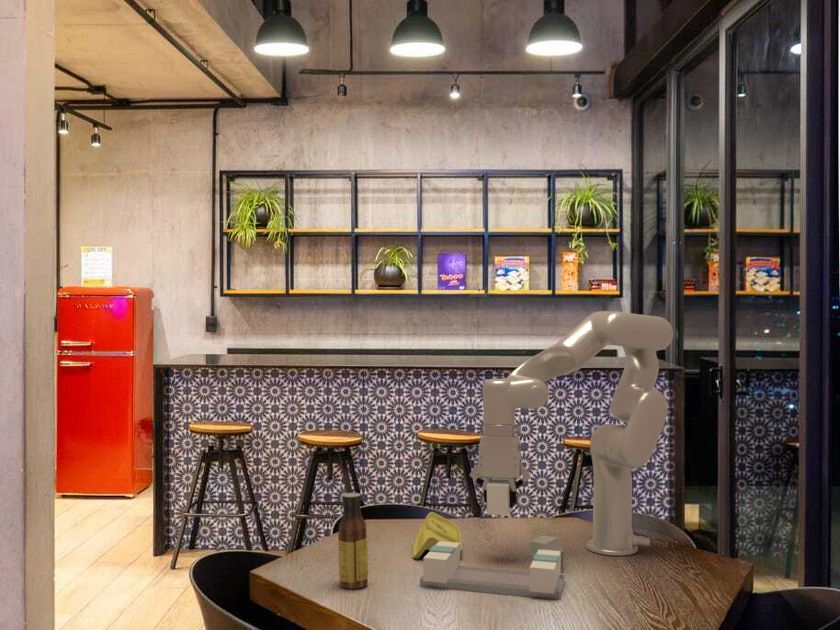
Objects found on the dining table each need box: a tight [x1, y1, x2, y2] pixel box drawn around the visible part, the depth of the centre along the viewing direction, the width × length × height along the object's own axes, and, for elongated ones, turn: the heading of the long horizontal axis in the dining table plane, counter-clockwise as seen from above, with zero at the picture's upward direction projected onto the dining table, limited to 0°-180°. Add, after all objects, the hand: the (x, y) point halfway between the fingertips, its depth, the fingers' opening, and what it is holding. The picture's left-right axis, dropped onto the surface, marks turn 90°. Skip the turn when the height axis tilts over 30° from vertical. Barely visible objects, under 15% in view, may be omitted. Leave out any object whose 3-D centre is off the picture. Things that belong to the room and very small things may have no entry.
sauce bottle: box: [337, 492, 369, 590], centre depth 181 cm, size 7×6×20 cm
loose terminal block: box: [529, 534, 559, 558], centre depth 206 cm, size 4×7×4 cm, turn 145°
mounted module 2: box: [529, 549, 562, 594], centre depth 180 cm, size 5×14×5 cm, turn 165°
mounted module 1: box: [422, 541, 461, 583], centre depth 186 cm, size 5×14×5 cm, turn 165°
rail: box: [419, 565, 566, 601], centre depth 183 cm, size 30×12×2 cm, turn 75°
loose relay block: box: [540, 544, 564, 574], centre depth 194 cm, size 5×6×5 cm
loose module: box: [486, 478, 514, 517], centre depth 200 cm, size 5×8×7 cm, turn 165°
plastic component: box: [411, 511, 463, 560], centre depth 210 cm, size 20×7×10 cm
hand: (500, 505), depth 200 cm, fingers closed on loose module, 5 cm apart
